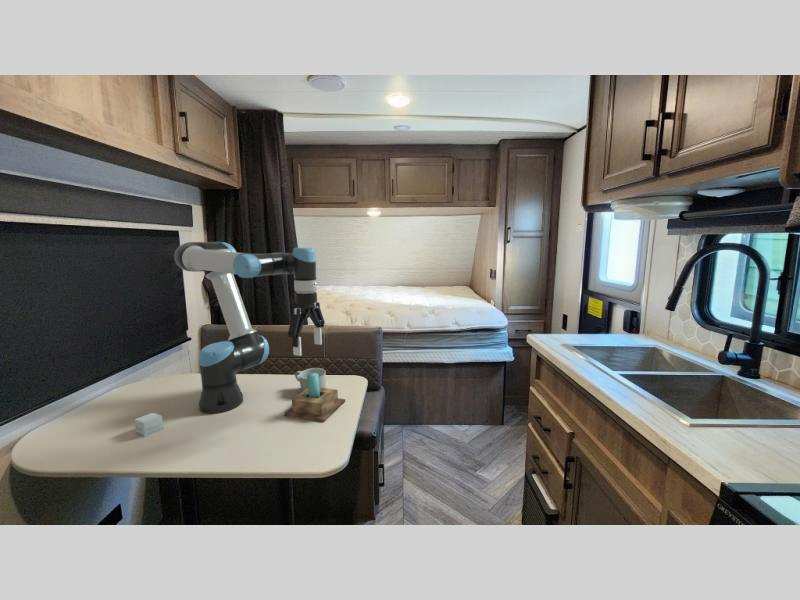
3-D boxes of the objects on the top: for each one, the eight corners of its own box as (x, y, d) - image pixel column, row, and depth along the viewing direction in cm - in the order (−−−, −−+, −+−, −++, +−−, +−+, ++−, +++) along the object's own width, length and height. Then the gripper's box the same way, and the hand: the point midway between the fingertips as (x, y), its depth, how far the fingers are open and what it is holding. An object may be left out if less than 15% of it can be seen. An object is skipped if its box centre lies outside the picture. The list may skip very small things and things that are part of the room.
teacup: (332, 388, 144) (331, 370, 143) (312, 398, 135) (311, 379, 134) (308, 382, 151) (307, 364, 150) (289, 391, 142) (287, 372, 141)
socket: (284, 415, 122) (283, 401, 121) (309, 396, 137) (308, 383, 136) (324, 422, 117) (323, 407, 116) (345, 401, 132) (344, 388, 131)
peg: (307, 407, 125) (304, 376, 123) (313, 403, 129) (310, 372, 127) (317, 408, 124) (314, 377, 122) (322, 404, 128) (320, 373, 126)
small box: (164, 429, 114) (162, 415, 113) (144, 437, 109) (142, 423, 108) (155, 425, 117) (153, 411, 116) (135, 433, 112) (133, 419, 111)
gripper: (294, 297, 108) (297, 361, 111) (332, 287, 131) (334, 340, 135) (274, 296, 110) (277, 359, 113) (315, 286, 133) (317, 339, 137)
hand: (308, 349), depth 124 cm, fingers open, 13 cm apart
